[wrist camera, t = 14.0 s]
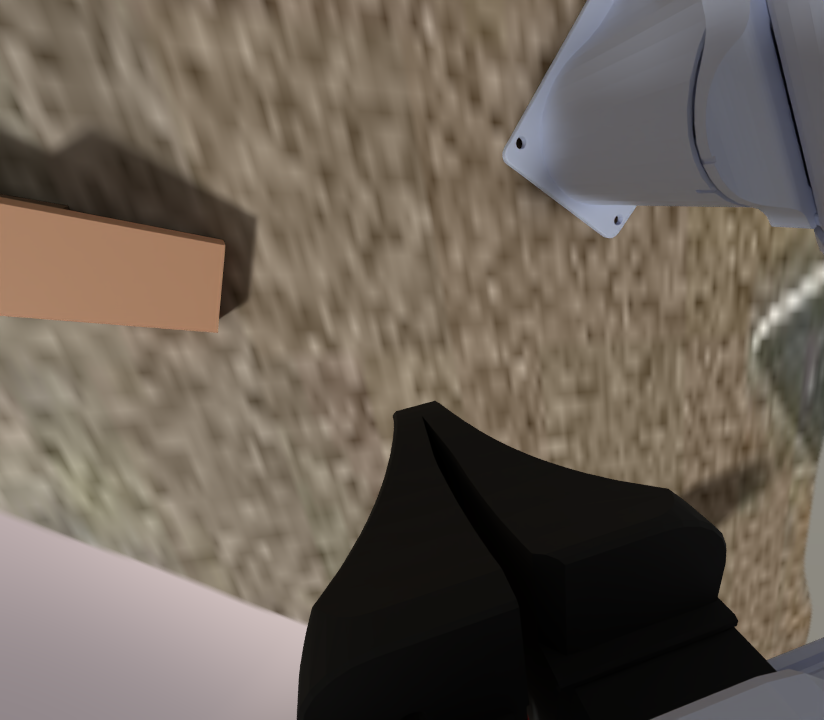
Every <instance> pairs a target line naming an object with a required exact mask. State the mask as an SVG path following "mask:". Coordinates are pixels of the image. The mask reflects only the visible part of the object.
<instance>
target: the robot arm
mask: <svg viewBox="0 0 824 720" xmlns="http://www.w3.org/2000/svg"><path fill="white" fill-rule="evenodd" d="M518 138H520V139H521V140H522V147H521V148H520V149H518V148H517V146H516V141H517V139H518ZM503 160H504V162H505V163H506V164H507V165H509V166H510V167H511V168H513V169H514V170H515V171H517V172H518V173H519V174H521V175H522V176H523V177H525V178H526V179H527V180H529V181H530V182H531V183H533V184H534V185H535V186H536V187H538V188H539V189H540V190H542V191H543V192H544V193H546V194H547V195H548V196H550V197H551V198H552V199H554V200H555V201H556V202H558V203H559V204H560V205H562V206H563V207H564V208H566V209H567V210H568V211H570V212H571V213H572V214H574V215H575V216H576V217H578V218H579V219H580V220H582V221H583V222H584V223H586V224H587V225H588V226H590V227H591V228H592V229H594V230H595V231H596V232H598V233H599V234H600V235H602V236H603V237H605V238H613V237H615V236H616V235H617V234H618V233H619V231H620V230H621V228H622V227H623V225H624V224H625V222H626V221H627V219H628V218H629V217H630V215H631V214H632V212H633V211H634V209H635V208H636V206H702V207H753V208H756V209H759V210H760V211H762V212H763V213H764V214H765V215H766V216H767V218H768V220H769V222H770V224H771V226H775V227H792V228H810V229H814V228H815V229H814V232H815V236H816V240H817V243H818V246H819V249H820V251H821V252H822V253H823V254H824V0H587V1H586V3H585V5H584V7H583V9H582V10H581V12H580V14H579V16H578V17H577V19H576V21H575V23H574V25H573V26H572V28H571V30H570V32H569V33H568V35H567V37H566V39H565V41H564V42H563V44H562V46H561V48H560V50H559V51H558V53H557V55H556V57H555V58H554V60H553V62H552V64H551V66H550V67H549V69H548V71H547V73H546V74H545V76H544V78H543V80H542V82H541V83H540V85H539V87H538V89H537V90H536V92H535V94H534V96H533V98H532V99H531V101H530V103H529V105H528V106H527V108H526V110H525V112H524V114H523V115H522V117H521V119H520V121H519V123H518V124H517V126H516V128H515V130H514V131H513V133H512V135H511V137H510V139H509V140H508V142H507V144H506V146H505V147H504V150H503ZM616 216H617V217H618V220H617V222H616V223H614V219H615V217H616ZM393 419H394V434H393V442H392V448H391V454H390V458H389V462H388V466H387V470H386V474H385V477H384V480H383V483H382V486H381V489H380V492H379V495H378V497H377V500H376V502H375V505H374V507H373V509H372V511H371V514H370V516H369V518H368V520H367V522H366V524H365V526H364V528H363V530H362V532H361V534H360V536H359V538H358V539H357V541H356V543H355V544H354V546H353V548H352V550H351V551H350V553H349V555H348V556H347V558H346V560H345V562H344V563H343V565H342V566H341V568H340V569H339V571H338V572H337V574H336V575H335V576H334V578H333V579H332V581H331V582H330V584H329V585H328V586H327V588H326V589H325V591H324V592H323V593H322V595H321V596H320V598H319V599H318V600H317V602H316V603H315V604H314V606H313V607H312V610H311V614H310V618H309V623H308V627H307V631H306V636H305V641H304V646H303V652H302V659H301V664H300V672H299V685H298V705H297V720H528V717H529V720H824V638H821V639H818V640H816V641H814V642H811V643H809V644H806V645H803V646H801V647H798V648H796V649H793V650H791V651H788V652H786V653H783V654H781V655H778V656H776V657H773V658H771V659H768V660H766V659H765V658H764V657H763V656H762V655H761V654H760V653H759V652H758V651H757V650H756V649H755V648H754V647H753V646H752V645H751V644H750V643H749V642H748V641H747V640H746V639H745V638H744V637H743V636H742V635H741V634H740V633H739V632H738V631H737V630H736V628H735V626H737V623H738V620H737V618H736V616H735V614H734V613H733V612H732V611H731V610H730V609H729V608H728V607H727V606H726V605H725V604H724V603H723V602H722V601H721V600H720V599H719V598H718V593H719V589H720V585H721V580H722V576H723V572H724V567H725V563H726V543H725V540H724V537H723V535H722V533H721V532H720V531H719V530H718V529H717V528H716V527H715V526H714V525H713V524H712V523H710V522H709V521H708V520H707V519H706V518H705V517H703V516H702V515H701V514H700V513H699V512H697V511H696V510H695V509H694V508H693V507H692V506H690V505H689V504H688V503H686V502H685V501H684V500H683V499H681V498H680V497H679V496H677V495H676V494H675V493H673V492H672V491H671V490H669V489H666V488H660V487H654V486H648V485H642V484H636V483H630V482H623V481H618V480H613V479H609V478H604V477H600V476H596V475H591V474H587V473H583V472H580V471H576V470H572V469H569V468H565V467H562V466H559V465H556V464H553V463H550V462H547V461H544V460H541V459H538V458H536V457H533V456H531V455H528V454H526V453H523V452H521V451H519V450H516V449H514V448H512V447H509V446H507V445H505V444H503V443H501V442H499V441H497V440H495V439H494V438H492V437H490V436H488V435H486V434H484V433H483V432H481V431H479V430H478V429H476V428H475V427H473V426H471V425H470V424H468V423H467V422H465V421H464V420H462V419H461V418H459V417H458V416H456V415H455V414H453V413H452V412H451V411H449V410H448V409H446V408H445V407H444V406H442V405H441V404H440V403H438V402H436V401H432V402H429V403H425V404H421V405H418V406H414V407H410V408H407V409H403V410H399V411H396V412H395V413H394V415H393ZM527 714H528V716H527Z"/></svg>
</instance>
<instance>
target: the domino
mask: <svg viewBox="0 0 824 720" xmlns="http://www.w3.org/2000/svg"><path fill="white" fill-rule="evenodd" d="M224 256H225V243H224V241H223V240H221V239H216V238H211V237H206V236H200V235H195V234H190V233H185V232H180V231H174V230H169V229H164V228H159V227H154V226H148V225H143V224H138V223H133V222H128V221H122V220H117V219H112V218H107V217H102V216H97V215H91V214H86V213H81V212H76V211H71V210H65V209H60V208H55V207H50V206H45V205H39V204H34V203H29V202H24V201H19V200H13V199H8V198H3V197H0V316H12V317H24V318H37V319H50V320H63V321H75V322H88V323H101V324H114V325H126V326H139V327H152V328H165V329H178V330H190V331H203V332H216V333H218V322H219V311H220V300H221V289H222V278H223V267H224Z"/></svg>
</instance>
